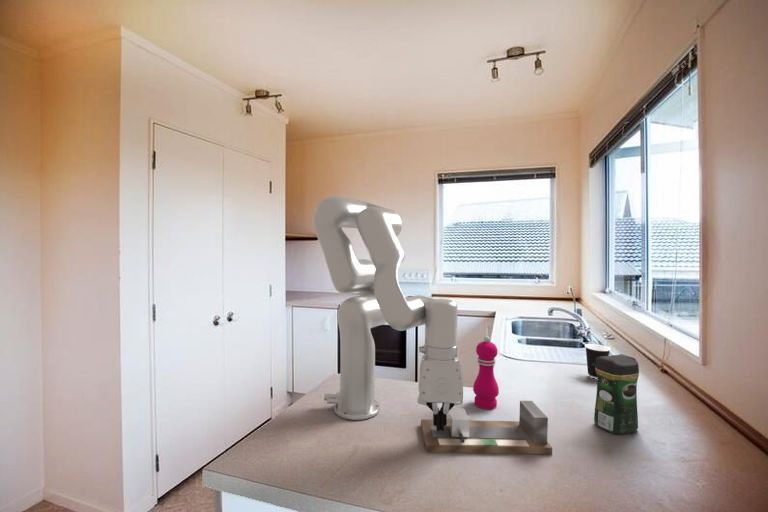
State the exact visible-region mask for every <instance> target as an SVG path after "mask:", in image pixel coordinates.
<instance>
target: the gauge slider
mask: <svg viewBox="0 0 768 512" xmlns="http://www.w3.org/2000/svg"><path fill="white" fill-rule="evenodd" d="M469 420H470V418H469V416H468V414H467V412H466V410H465V408H461V407H460V408H459V407H458V408H456V407H453V408H452V409H450V410H449V411H448V414H447V424H448V427H449V430H450V433H451V436H452V437H460V440H461V442H462V443H464V438H463V437H469Z"/></svg>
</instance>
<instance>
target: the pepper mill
mask: <svg viewBox="0 0 768 512" xmlns="http://www.w3.org/2000/svg"><path fill="white" fill-rule="evenodd" d="M483 340H484V341H481V342H479V343H478V344H477V346H476V348H475V353H476V355H477V356H478V357H477V364H478V367H479V368H478V374H477V376H476V378H475V380H474V383H473V385H472V386H473V387H472V390H473V393H474V395H475V396H474V404H475V406H476V407H478V408H481V409H484V410H494V409H496V408H497V407H498V406H497V405H498V400H497V397H498V395H499V394H500V393H499V385H498V382H497V380H496V377H495V374H494V367H495V365H496V359H495V358H496V357H497V356H498V353H499V349H498V346H497V345H496V344H495V343H493V342H491V338H490V336H488V335H487V336H486V335H485V336H484V337H483ZM493 408H494V409H493Z"/></svg>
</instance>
